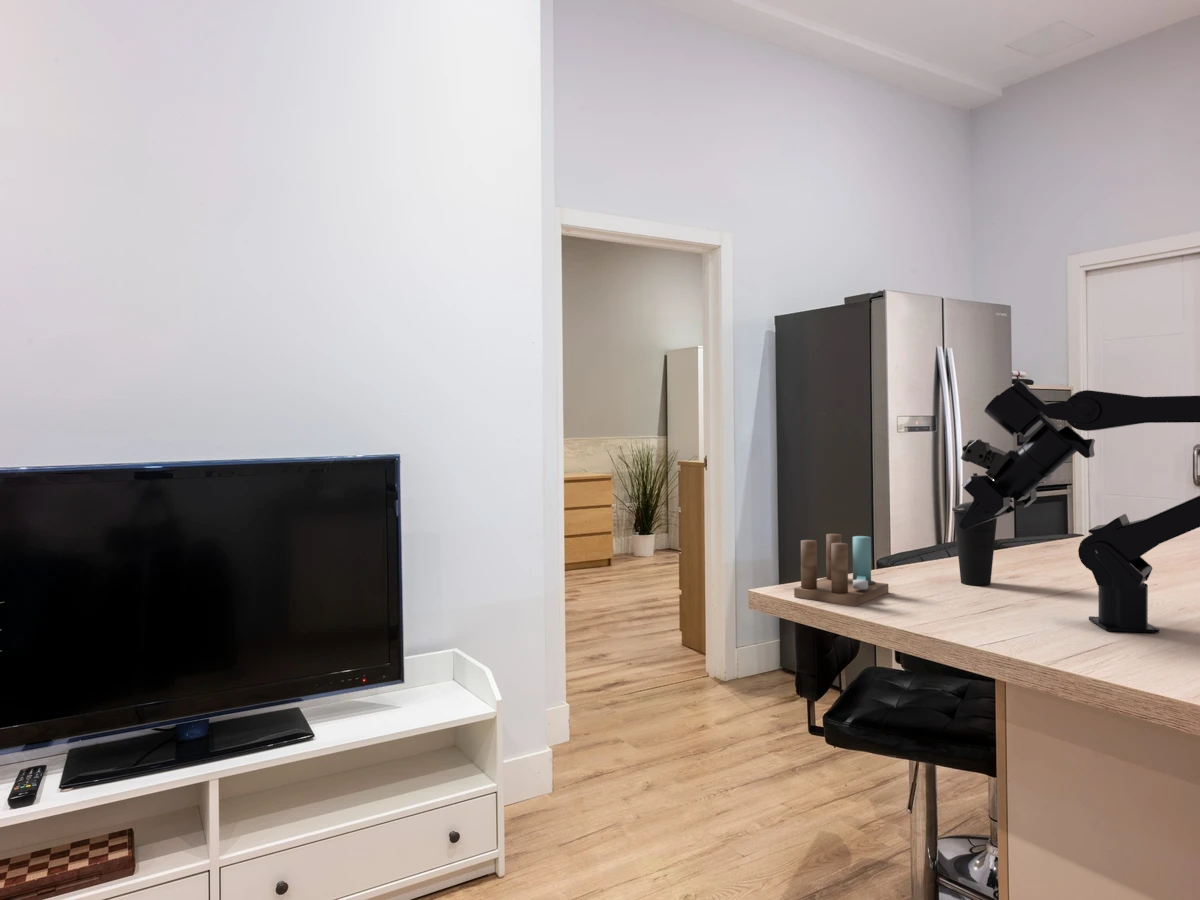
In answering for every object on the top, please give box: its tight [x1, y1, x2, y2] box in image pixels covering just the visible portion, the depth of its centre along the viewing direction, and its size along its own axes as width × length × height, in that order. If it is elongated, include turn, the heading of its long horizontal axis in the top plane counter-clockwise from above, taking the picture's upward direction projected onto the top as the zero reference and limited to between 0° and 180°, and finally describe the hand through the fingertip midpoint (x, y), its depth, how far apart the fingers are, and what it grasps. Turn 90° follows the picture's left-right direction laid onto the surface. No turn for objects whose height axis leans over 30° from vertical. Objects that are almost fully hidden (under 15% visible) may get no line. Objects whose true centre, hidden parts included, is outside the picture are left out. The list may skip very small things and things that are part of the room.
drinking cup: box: [951, 472, 998, 587], centre depth 137 cm, size 8×8×20 cm
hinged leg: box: [852, 535, 872, 590], centre depth 129 cm, size 10×3×8 cm, turn 159°
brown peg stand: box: [793, 533, 889, 607], centre depth 130 cm, size 11×13×10 cm
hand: (961, 527), depth 121 cm, fingers closed
